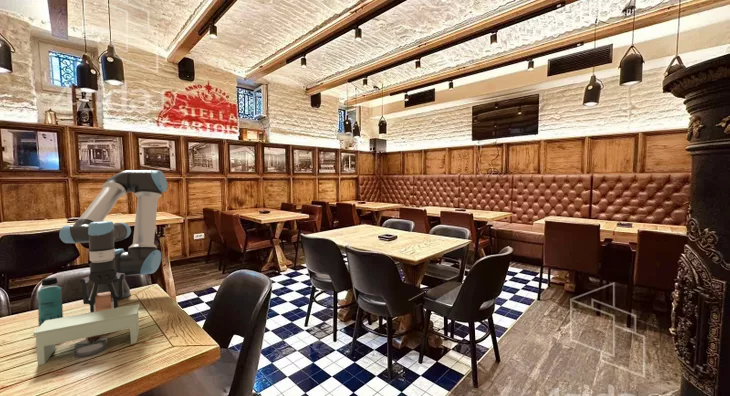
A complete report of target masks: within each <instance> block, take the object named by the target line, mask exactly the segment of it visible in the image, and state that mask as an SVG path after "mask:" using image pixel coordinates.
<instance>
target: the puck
mask: <svg viewBox="0 0 730 396" xmlns="http://www.w3.org/2000/svg"><path fill="white" fill-rule="evenodd" d="M73 347H74V348H73V349H74V357H75V358H77V359H78V358H79V359H80V358H81V359H83V358H88V357H92V356H95V355H99V354H100V353H102V352H103V351H106V350H107V348H108V337H107V336H104V335H101V336H97V337H92V338H88V339H87V338H84V340H80V341H79V342H77V343H76V344H75V345H74V346H73Z"/></svg>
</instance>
